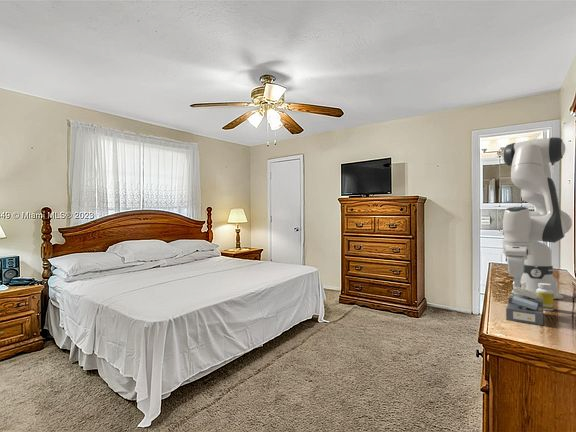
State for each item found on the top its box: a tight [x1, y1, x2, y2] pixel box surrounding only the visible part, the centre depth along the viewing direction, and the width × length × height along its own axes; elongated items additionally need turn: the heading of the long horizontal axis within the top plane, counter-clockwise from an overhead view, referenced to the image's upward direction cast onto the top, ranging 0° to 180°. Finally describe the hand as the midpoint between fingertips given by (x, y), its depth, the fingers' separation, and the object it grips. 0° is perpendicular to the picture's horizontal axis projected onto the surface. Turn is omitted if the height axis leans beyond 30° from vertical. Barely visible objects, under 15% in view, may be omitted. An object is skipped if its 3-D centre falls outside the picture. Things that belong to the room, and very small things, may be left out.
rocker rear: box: [514, 287, 538, 299], centre depth 119 cm, size 6×7×1 cm
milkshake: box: [512, 280, 528, 295], centre depth 135 cm, size 5×5×10 cm
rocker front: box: [512, 296, 538, 310], centre depth 112 cm, size 6×7×1 cm
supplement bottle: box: [536, 283, 555, 311], centre depth 126 cm, size 5×5×10 cm
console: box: [505, 292, 544, 327], centre depth 116 cm, size 18×10×7 cm, turn 141°
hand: (517, 286), depth 121 cm, fingers closed
